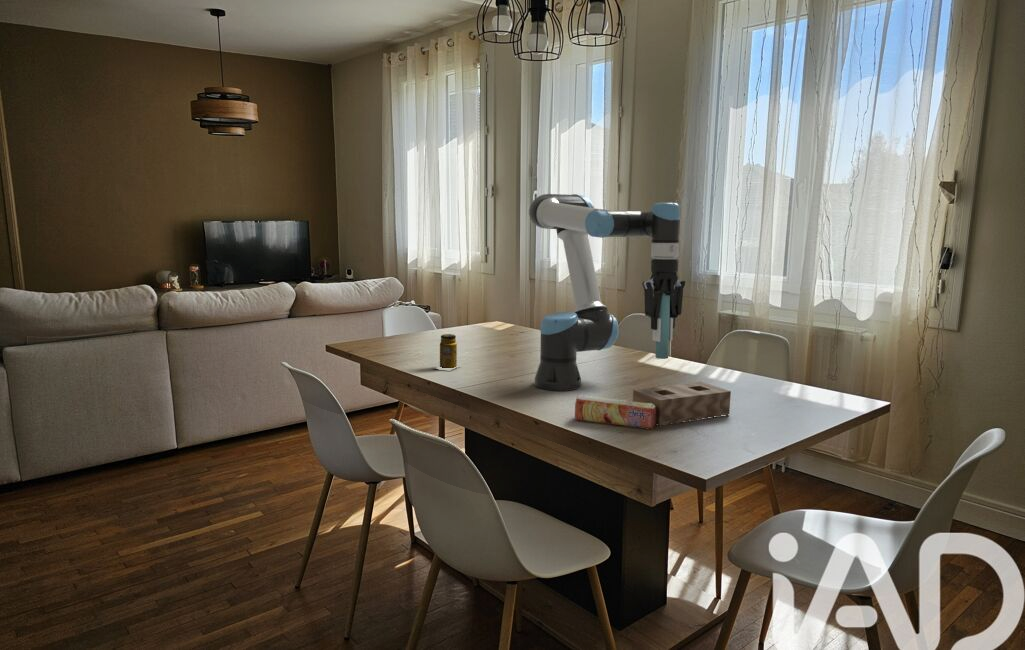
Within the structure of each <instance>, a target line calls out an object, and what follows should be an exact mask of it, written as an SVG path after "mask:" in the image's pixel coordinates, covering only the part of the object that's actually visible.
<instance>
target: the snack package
mask: <svg viewBox="0 0 1025 650" xmlns="http://www.w3.org/2000/svg"><path fill="white" fill-rule="evenodd" d="M574 419H575V420H576V421H578V420H580V421H579V422H581V421H582V422H590V423H596V422H597V423H599V424H605V423H606V424H607V425H615V426H622V425H623V426H624V427H629V426H631V428H637V427H639V428H638V429H643V428H648V429H647V430H653V429H654V428H653V427H655V425H656V424H655V423H656V406H655V405H654V404H652V403H641V402H633V400H632V401H631V400H625V399H618V398H617V399H616V398H607V397H599V396H591V395H585V394H580V395H578V396H577V397H576V399H575V403H574ZM652 428H653V429H652Z"/></svg>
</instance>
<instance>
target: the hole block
mask: <svg viewBox="0 0 1025 650" xmlns="http://www.w3.org/2000/svg"><path fill="white" fill-rule="evenodd" d="M632 392H633V394H632V401H633V402H641V403H652V404H654V405H655V406H656V424H658V425H663V426H666V425H665V424H670V425H672V424H671V423H677V422H683V421H689V420H697V419H702V418H708V417H714V416H721V415H728V414H729V415H730V409H731V407H730V406H731V392H732V391H731V390H727V389H725V388H721V387H719V386H715V385H712V384H709V383H706V382H703V381H697V382H696V381H695V382H688V383H678V384H669V385H662V386H655V387H654V386H652V387H645V388H636V389H635V388H634V389H633V391H632ZM697 421H698V420H697ZM656 424H655V425H656ZM677 424H678V423H677ZM658 425H657V426H658Z"/></svg>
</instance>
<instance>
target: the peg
mask: <svg viewBox="0 0 1025 650" xmlns="http://www.w3.org/2000/svg"><path fill="white" fill-rule="evenodd" d="M669 317H670V295H665V294H663V295H662V301H661V306H660V312H659V317H658V318H660V319H661V335H660V342H657V341H655V359H659V360H666V359H667V360H668V359H669V350H670V348H669V347H670V346H669V345H670V343H669V342H670V341H669Z"/></svg>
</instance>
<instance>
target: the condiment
mask: <svg viewBox="0 0 1025 650" xmlns="http://www.w3.org/2000/svg"><path fill="white" fill-rule="evenodd" d="M456 337H457V336H456V335H455V334H452V333H451V334H450V333H449V334H448V333H446V334H441V335H440V343H439V366H440V367H442V368H454V367H456V366H457V362H458V361H457V358H458V357H457V355H458V352H457V351H458V348H457V347H458V345H457V342H456V340H457V339H456Z"/></svg>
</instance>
